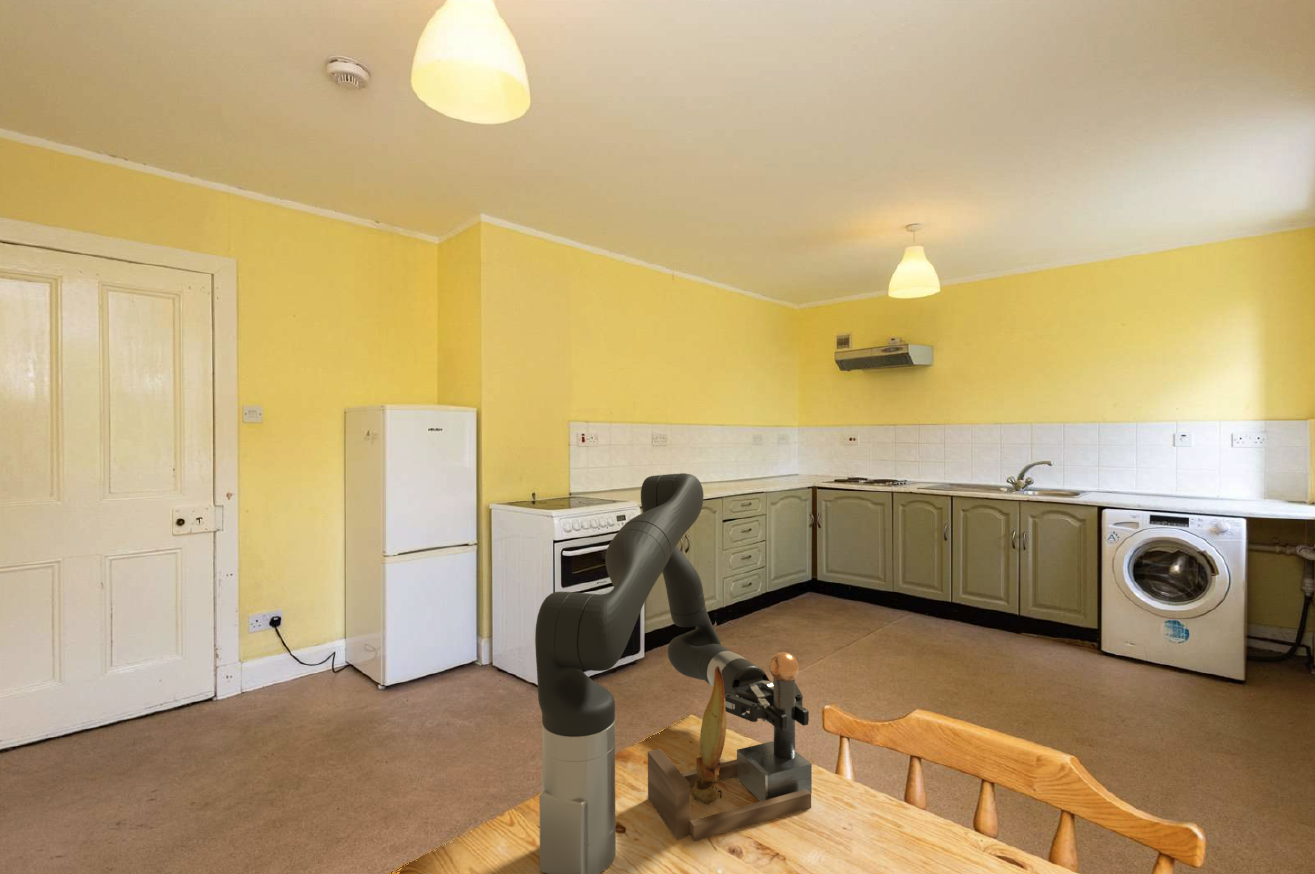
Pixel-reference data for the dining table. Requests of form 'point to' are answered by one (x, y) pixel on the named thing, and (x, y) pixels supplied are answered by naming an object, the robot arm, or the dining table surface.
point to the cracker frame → (674, 809)
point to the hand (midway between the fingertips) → (795, 721)
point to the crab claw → (711, 744)
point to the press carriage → (777, 744)
